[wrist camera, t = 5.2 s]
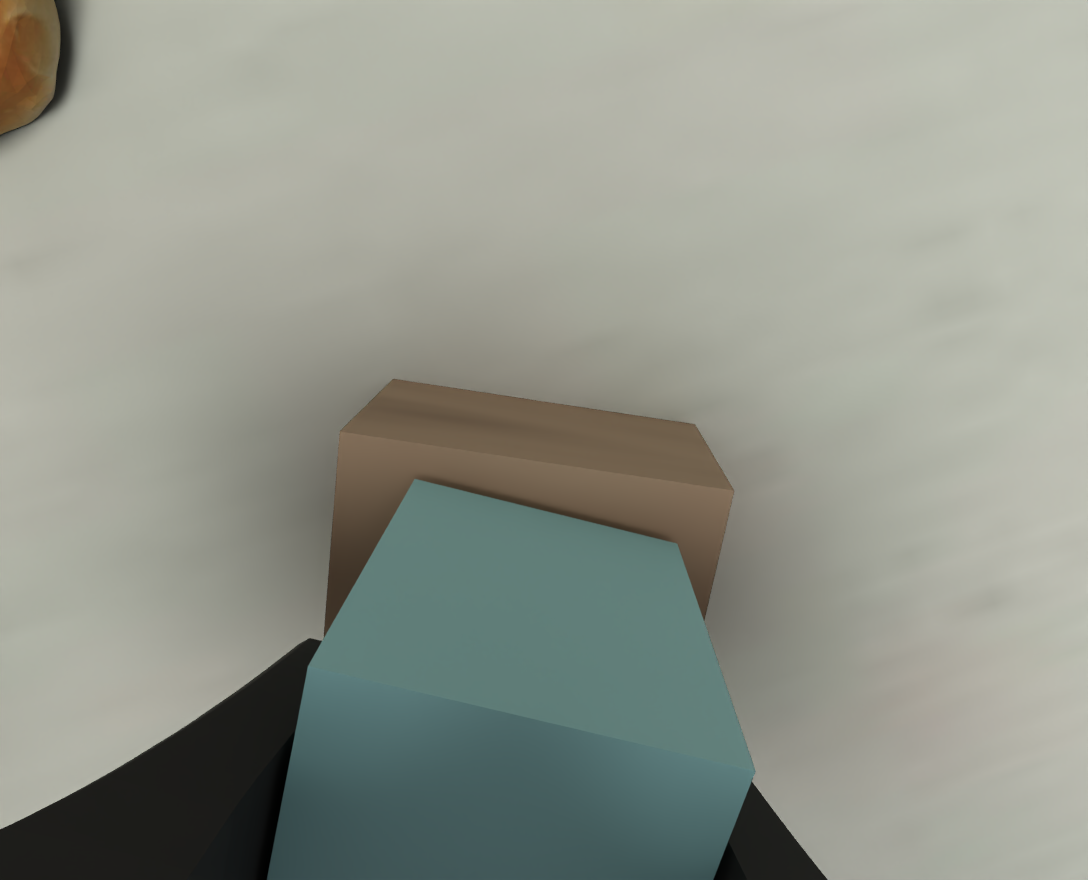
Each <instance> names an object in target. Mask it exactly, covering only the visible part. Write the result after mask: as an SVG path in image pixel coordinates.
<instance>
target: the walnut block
mask: <svg viewBox="0 0 1088 880" xmlns="http://www.w3.org/2000/svg"><path fill="white" fill-rule="evenodd" d="M414 479H418V480H422V481H426V482H430V483H434V484H438V485H442V486H446V487H450V488H454V489H458V490H462V491H466V492H470V493H474V494H478V495H482V496H487V497H491V498H495V499H499V500H503V501H507V502H511V503H515V504H519V505H523V506H527V507H531V508H535V509H539V510H543V511H547V512H551V513H555V514H559V515H564V516H568V517H572V518H576V519H580V520H584V521H588V522H592V523H596V524H600V525H604V526H608V527H612V528H616V529H620V530H624V531H628V532H632V533H636V534H641V535H645V536H649V537H653V538H657V539H661V540H665V541H669V542H673V543H677V544H678V547H679V550H680V553H681V556H682V559H683V562H684V565H685V568H686V570H687V573H688V576H689V579H690V582H691V585H692V588H693V591H694V594H695V597H696V599H697V602H698V605H699V608H700V611H701V614H702V617H703V620H704V619H705V615H706V611H707V606H708V602H709V598H710V593H711V589H712V585H713V580H714V576H715V572H716V567H717V563H718V559H719V554H720V550H721V546H722V541H723V537H724V533H725V528H726V524H727V520H728V515H729V511H730V507H731V502H732V498H733V494H734V489H733V488H732V486H731V484H730V483H729V481H728V479H727V478H726V476H725V474H724V473H723V471H722V469H721V468H720V466H719V464H718V463H717V461H716V459H715V458H714V456H713V454H712V453H711V451H710V449H709V447H708V446H707V444H706V442H705V441H704V439H703V437H702V436H701V434H700V432H699V431H698V429H697V427H696V426H695V424H689V423H682V422H675V421H669V420H662V419H655V418H649V417H642V416H635V415H629V414H622V413H616V412H609V411H602V410H596V409H589V408H582V407H576V406H569V405H563V404H556V403H549V402H543V401H536V400H529V399H523V398H516V397H509V396H503V395H496V394H490V393H483V392H476V391H470V390H463V389H456V388H450V387H443V386H437V385H430V384H423V383H417V382H410V381H403V380H397V379H393V380H392V381H391V382H390V383H389V384H388V385H387V386H386V387H385V388H384V389H383V390H382V391H381V392H380V393H379V394H377V395H376V396H375V397H374V398H373V399H372V400H371V401H370V402H369V403H368V404H367V405H366V406H365V407H364V408H363V409H362V410H361V411H360V412H359V413H358V414H357V415H356V416H355V417H354V418H353V419H352V420H351V421H350V422H349V423H348V424H347V425H346V426H345V427H344V428H343V429H342V430H341V431H340V434H339V447H338V460H337V473H336V486H335V498H334V511H333V524H332V537H331V550H330V563H329V576H328V589H327V601H326V614H325V627H324V637H325V635H326V634H327V632H328V630H329V628H330V627H331V625H332V623H333V621H334V620H335V618H336V616H337V614H338V613H339V611H340V609H341V607H342V606H343V604H344V602H345V600H346V599H347V597H348V595H349V593H350V592H351V590H352V588H353V586H354V585H355V583H356V581H357V579H358V578H359V576H360V574H361V572H362V570H363V569H364V567H365V565H366V563H367V562H368V560H369V558H370V556H371V555H372V553H373V551H374V549H375V548H376V546H377V544H378V542H379V541H380V539H381V537H382V535H383V534H384V532H385V530H386V528H387V527H388V525H389V523H390V521H391V520H392V518H393V516H394V514H395V513H396V511H397V509H398V507H399V506H400V504H401V502H402V500H403V499H404V497H405V495H406V493H407V491H408V490H409V488H410V486H411V484H412V483H413V481H414Z"/></svg>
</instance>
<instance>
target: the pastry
mask: <svg viewBox="0 0 1088 880" xmlns="http://www.w3.org/2000/svg"><path fill="white" fill-rule="evenodd" d="M59 54H60V23H59V18H58V13H57V9H56V5H55V2H54V0H0V135H1V134H3V133H5V132H8V131H11V130H13V129H16V128H19V127H21V126H24V125H27V124H28V123H30V122H32V121H33V120H34V119H36V118H37V117H38V116H39V115H40V114H41V113H42V111H43V110H44V109H45V107H46V106H47V105H48V104H49V102H50V101H51V100H52V99H53V96H54V92H55V84H56V71H57V66H58V61H59Z"/></svg>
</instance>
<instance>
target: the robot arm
mask: <svg viewBox="0 0 1088 880" xmlns="http://www.w3.org/2000/svg"><path fill="white" fill-rule="evenodd" d="M321 642H322V641H319V640H315V639H311V638H309V639H307V640H306V641H304V642H302V643H300V644H299V645H297V646H296V647H295V648H293V649H292V650H291V651H290V652H288V653H287V654H286V655H284V656H283V657H282V658H281V659H279V660H278V661H277V662H275V663H274V664H273V665H271V666H270V667H269V668H268V669H266V670H265V671H264V672H262V673H261V674H260V675H258V676H257V677H255V678H254V679H253V680H251V681H250V682H249V683H247V684H246V685H245V686H243V687H242V688H240V689H239V690H238V691H236V692H235V693H234V694H232V695H231V696H229V697H228V698H226V699H225V700H223V701H222V702H220V703H219V704H218V705H216V706H215V707H213V708H212V709H210V710H209V711H207V712H206V713H204V714H203V715H202V716H200V717H199V718H197V719H196V720H194V721H193V722H191V723H190V724H188V725H187V726H185V727H184V728H182V729H181V730H179V731H178V732H176V733H174V734H173V735H171V736H169V737H168V738H166V739H165V740H163V741H161V742H160V743H158V744H156V745H155V746H153V747H152V748H150V749H148V750H147V751H145V752H143V753H142V754H140V755H139V756H137V757H135V758H134V759H132V760H130V761H129V762H127V763H125V764H124V765H122V766H121V767H119V768H117V769H115V770H114V771H112V772H110V773H108V774H107V775H105V776H103V777H101V778H99V779H98V780H96V781H94V782H92V783H91V784H89V785H87V786H85V787H83V788H81V789H80V790H78V791H76V792H74V793H72V794H70V795H68V796H67V797H65V798H63V799H61V800H59V801H57V802H55V803H53V804H51V805H49V806H47V807H45V808H43V809H41V810H39V811H37V812H35V813H33V814H31V815H29V816H28V817H26V818H23V819H21V820H19V821H17V822H15V823H13V824H11V825H9V826H7V827H5V828H2V829H0V880H267V876H268V871H269V866H270V861H271V855H272V850H273V845H274V840H275V835H276V829H277V824H278V819H279V814H280V809H281V804H282V798H283V793H284V788H285V783H286V778H287V773H288V767H289V762H290V757H291V752H292V747H293V741H294V736H295V731H296V726H297V721H298V716H299V710H300V705H301V700H302V695H303V690H304V684H305V679H306V674H307V669H308V665H309V664H310V662H311V660H312V658H313V657H314V655H315V653H316V651H317V649H318V648H319V646H320V644H321ZM713 880H827V878H826V877H825V876H824V875H823V874H822V872H821V871H820V870H819V869H818V867H817V866H816V865H815V864H814V862H813V861H812V860H811V859H810V857H809V856H808V855H807V853H806V852H805V851H804V850H803V848H802V847H801V846H800V844H799V843H798V842H797V841H796V839H795V838H794V837H793V836H792V834H791V833H790V832H789V830H788V829H787V828H786V826H785V825H784V824H783V822H782V821H781V820H780V819H779V817H778V816H777V815H776V813H775V812H774V811H773V809H772V808H771V807H770V805H769V804H768V803H767V801H766V800H765V799H764V797H763V796H762V795H761V793H760V792H759V791H758V789H757V788H756V787H755V785H754V784H753V783H752V781H751V784H750V787H749V789H748V792H747V794H746V797H745V799H744V802H743V805H742V807H741V810H740V812H739V815H738V817H737V820H736V823H735V825H734V828H733V830H732V833H731V835H730V838H729V840H728V843H727V846H726V848H725V851H724V853H723V856H722V858H721V861H720V864H719V866H718V869H717V871H716V874H715V876H714V879H713Z"/></svg>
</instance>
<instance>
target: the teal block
mask: <svg viewBox="0 0 1088 880" xmlns="http://www.w3.org/2000/svg"><path fill="white" fill-rule="evenodd" d="M754 774H755V768H754V765H753V762H752V759H751V756H750V754H749V751H748V748H747V745H746V742H745V739H744V736H743V733H742V730H741V727H740V724H739V722H738V719H737V716H736V713H735V710H734V707H733V704H732V701H731V698H730V695H729V692H728V690H727V687H726V684H725V681H724V678H723V675H722V672H721V669H720V666H719V663H718V661H717V658H716V655H715V652H714V649H713V646H712V643H711V640H710V637H709V634H708V631H707V629H706V626H705V623H704V620H703V617H702V614H701V611H700V608H699V605H698V602H697V599H696V597H695V594H694V591H693V588H692V585H691V582H690V579H689V576H688V573H687V570H686V568H685V565H684V562H683V559H682V556H681V553H680V550H679V547H678V544H677V543H673V542H669V541H665V540H661V539H657V538H653V537H649V536H645V535H641V534H636V533H632V532H628V531H624V530H620V529H616V528H612V527H608V526H604V525H600V524H596V523H592V522H588V521H584V520H580V519H576V518H572V517H568V516H564V515H559V514H555V513H551V512H547V511H543V510H539V509H535V508H531V507H527V506H523V505H519V504H515V503H511V502H507V501H503V500H499V499H495V498H491V497H487V496H482V495H478V494H474V493H470V492H466V491H462V490H458V489H454V488H450V487H446V486H442V485H438V484H434V483H430V482H426V481H422V480H418V479H414V481H413V483H412V484H411V486H410V488H409V490H408V491H407V493H406V495H405V497H404V499H403V500H402V502H401V504H400V506H399V507H398V509H397V511H396V513H395V514H394V516H393V518H392V520H391V521H390V523H389V525H388V527H387V528H386V530H385V532H384V534H383V535H382V537H381V539H380V541H379V542H378V544H377V546H376V548H375V549H374V551H373V553H372V555H371V556H370V558H369V560H368V562H367V563H366V565H365V567H364V569H363V570H362V572H361V574H360V576H359V578H358V579H357V581H356V583H355V585H354V586H353V588H352V590H351V592H350V593H349V595H348V597H347V599H346V600H345V602H344V604H343V606H342V607H341V609H340V611H339V613H338V614H337V616H336V618H335V620H334V621H333V623H332V625H331V627H330V628H329V630H328V632H327V634H326V635H325V637H324V639H323V641H322V642H321V644H320V646H319V648H318V649H317V651H316V653H315V655H314V657H313V658H312V660H311V662H310V664H309V665H308V669H307V674H306V679H305V684H304V690H303V695H302V700H301V705H300V710H299V716H298V721H297V726H296V731H295V736H294V741H293V747H292V752H291V757H290V762H289V767H288V773H287V778H286V783H285V788H284V793H283V798H282V804H281V809H280V814H279V819H278V824H277V829H276V835H275V840H274V845H273V850H272V855H271V861H270V866H269V871H268V876H267V880H713V879H714V876H715V874H716V871H717V869H718V866H719V864H720V861H721V858H722V856H723V853H724V851H725V848H726V846H727V843H728V840H729V838H730V835H731V833H732V830H733V828H734V825H735V823H736V820H737V817H738V815H739V812H740V810H741V807H742V805H743V802H744V799H745V797H746V794H747V792H748V789H749V787H750V784H751V781H752V779H753V776H754Z"/></svg>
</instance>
